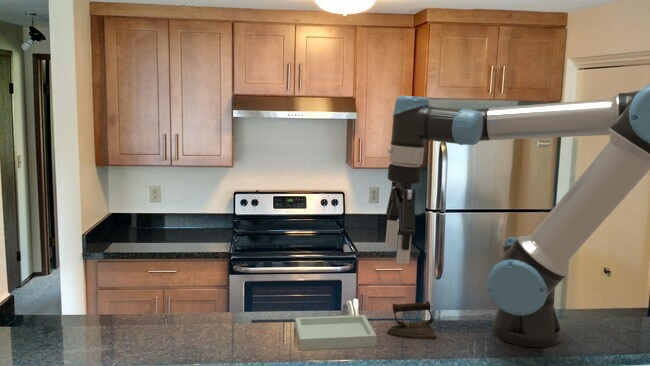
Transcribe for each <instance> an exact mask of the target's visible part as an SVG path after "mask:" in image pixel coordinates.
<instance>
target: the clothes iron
mask: <svg viewBox="0 0 650 366" xmlns="http://www.w3.org/2000/svg"><path fill="white" fill-rule="evenodd" d="M413 311H417V312H418V311H428V312H429V313H428V314H429V315H430V318H429V320H427V321H415V322H409V323H408V322H407V323H406V322H404V321H399V320H398V319H397V316H396V313H398V312H399V313H400V312H413ZM392 312H393V314H394V316H393V317H394V318H395V322H396V323H397V325H393V326H391V327H390V328H388V330H387V332H386V335H388V336H392V337H397V338H404V339H414V340H437V338H438V337H437V334H436V333H435V332H434V330H433V329H432V327H431V326H430V325H431V324H432V323H433V321H434V318H433V315H432V312H431V302H430V301H429V300H427V301H425V302H414V303H412V302H411V303H400V304H396V303H393V304H392Z"/></svg>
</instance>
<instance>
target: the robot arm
mask: <svg viewBox="0 0 650 366" xmlns="http://www.w3.org/2000/svg"><path fill="white" fill-rule="evenodd" d="M392 117H393V118H392V128H391V141H390V148H388V149H387V153H388V154H389V162H390V163H389V164H388V169H387V179H388V180H389V182H391V189H390V193H389V197H388V204H387V207H386V212H385V214H386V217H387V222H386V233H385V243H384V246H385V247H390V248H391V247H392V248H397V250H396V251H397V252H396V261H395V263H396V264H402V265H403V264H407V265H409V264H410V257H411V248H412V247H411V246H412V237H413V236H415V235H416V205H415V203H416V193H417V192H416V190H415V189H412V184H419V183H420V182H421V180H422V171H423V168H422V167H421V166H420V165H423V163H424V162H423V161H424V155H425V154H424V153H425V141H429V142H432V141H433V142H440V143H448V144H457V145H459V146H474V145H478V143H479V142H482V141H483V142H485V141H486V142H487V141H500V140H501V141H502V140H521V139H522V140H524V139H525V140H527V139H543V138H544V139H549V138H569V137H572V138H573V137H592V136H593V137H594V136H609V142H608V143H607V144H606V145H605V147H604V148H603V149H602V150H601V151H600V152H599V154H598V155H597V156H596V157H595V158H594V160H592V161H591V163H590V165H588V167H586V169H585V170H584V171H583V172H582V174H581V175H580V176H579V177H578V179H577V180H576V181H575V182H574V183H573V185H571V187H570V188H569V189H568V190H567V191H566V193H565V194H564V195H563V196H562V197H561V199H560V200H559V201H558V202H557V203H556V204H555V206H554V207H553V208H552V209H551V210H550V211H549V213H548V214H547V216H545V218H544V219H543V220H542V221H541V222H540V223H539V224H538V225H537V227H536V228H535V229H534V231H533V232H532V233H531V234H528V235H520V236H508V237H506V238H505V239H504V241H503V245H502V250H503V254H502V255H503V256H501V258H500V259H499V260H498V261H497V263H495V264H494V265H493V266H492V267H491V268H490V269H489V273H488V277H487V281H486V288H487V293H488V294H489V298H490V299H491V300H492V302H493V303H494V304H495V305H496V306H497V309H496V312H495V315H494V317H493V319H492V322H491V323H492V328H491V331H492V334H493V335H495V337H496V338H498V339H501V340H502V341H504V342H507V343H509V344H513V345H517V346H523V347H528V348H545V347H553V346H556V345H557V344H559V343H560V342H561V341H562V339H561V338H562V337H561V336H562V329H561V325H560V322H559V318H558V315H557V311H556V307H555V297H556V296H555V294H556V287H557V286H558V285H559V284H560V283H561V282H562V281H563V279H565V277H566V276H567V275H568V266H567V263H568V261H570V260H571V259H572V257H573V256H574V255H575V254H576V253H577V252H578V250H580V249H581V247H582V246H583V245H584V244H585V243H586V242H587V241H588V239H589V238H590V237H591V236H592V235H593V234H594V232H596V230H597V229H598V228H599V227H600V226H601V225H602V224H603V222H604V221H606V219H607V218H608V217H609V216H610V215H611V214H612V213H613V211H614V210H615V209H616V208H617V207H618V206H619V205H620V204H621V202H623V200H624V199H625V198H626V197H627V196H628V195H629V194H630V192H631V191H632V190H633V189H634V188H635V187H637V185H638V183H639V182H641V180H642V179H643V178H644V177H645V176H646V175H647V173H648V172H649V171H650V83H648V84H647V85H645V86H644V87H642V88H641V89H640V90H636V91H629V92H620V93H618V92H617V93H616V94H615V95H614V96H613V97H612V98H606V99H592V100H579V101H577V100H576V101H567V102H565V101H563V102H554V103H553V102H552V103H551V102H550V103H540V104H527V105H526V104H525V105H515V106H514V105H513V106H512V105H511V106H501V107H488V108H474V109H470V108H453V107H452V108H451V107H436V106H430V100H429V98H428V97H425V96H423V97H422V96H414V95H413V96H411V95H399V96H397V98H396V99H395V103H394V110H393V114H392ZM399 228H400V230H399Z"/></svg>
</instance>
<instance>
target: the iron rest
mask: <svg viewBox="0 0 650 366" xmlns="http://www.w3.org/2000/svg"><path fill="white" fill-rule="evenodd" d="M294 326H295V332H296V336H297V342H298V347H299V351H311V350H314V351H315V350H329V349H332V350H333V349H350V348H351V349H352V348H353V349H355V348H373V347H375V348H376V347H377V340H378V339H377V337H378V336H377V333H376V332H375V330H374V328H373V327H372V325H371V323H370V322H369V320H368V318H367V316H366V314H358V315H357V314H355V315H353V314H352V315H331V316H329V315H328V316H307V317H302V316H301V317H295V325H294Z"/></svg>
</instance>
